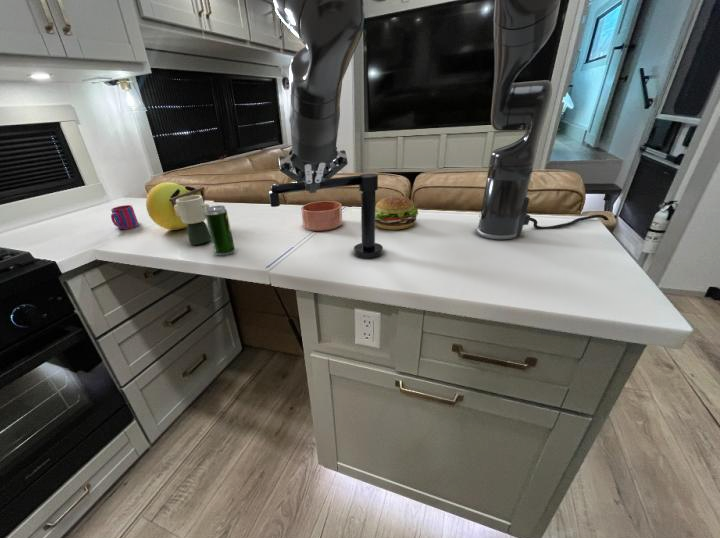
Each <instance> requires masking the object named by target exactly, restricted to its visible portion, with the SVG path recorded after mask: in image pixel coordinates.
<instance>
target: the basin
mask: <svg viewBox="0 0 720 538" xmlns="http://www.w3.org/2000/svg"><path fill="white" fill-rule="evenodd" d="M300 209H301V219H302V226H303V228H304V229H307V230H309V231H314V232H326V231H331V230H335V229H337V228H338V227H340V226H341V225H342V224H343V205H342V203H341V202H339V201H335V200H334V201H333V200H321V201H320V200H319V201H313V202H309V203H306V204H304V205H302V207H301V208H300Z"/></svg>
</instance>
